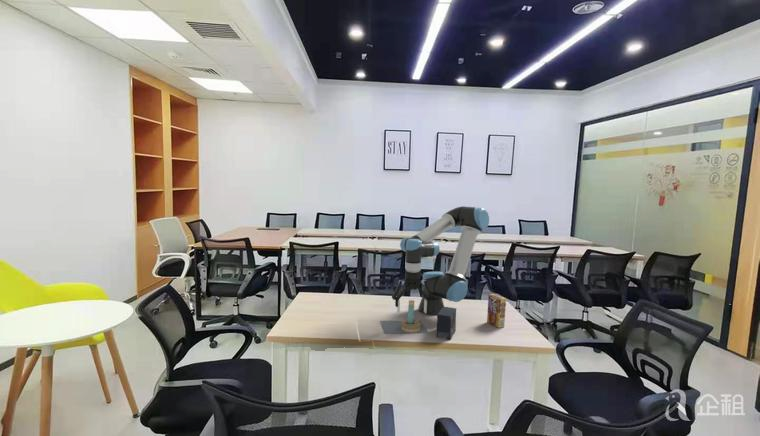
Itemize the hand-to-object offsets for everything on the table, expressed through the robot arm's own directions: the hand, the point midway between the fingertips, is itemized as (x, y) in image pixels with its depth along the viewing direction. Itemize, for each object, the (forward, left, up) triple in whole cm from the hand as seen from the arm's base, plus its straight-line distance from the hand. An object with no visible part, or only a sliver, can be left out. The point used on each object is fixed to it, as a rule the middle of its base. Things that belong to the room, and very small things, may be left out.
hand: (411, 312), depth 174 cm
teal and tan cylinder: (0, 0, -8) cm, 8 cm away
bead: (0, 0, -8) cm, 8 cm away
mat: (+3, -2, -9) cm, 10 cm away
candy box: (-47, -5, -9) cm, 48 cm away
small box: (-16, +7, -9) cm, 19 cm away
